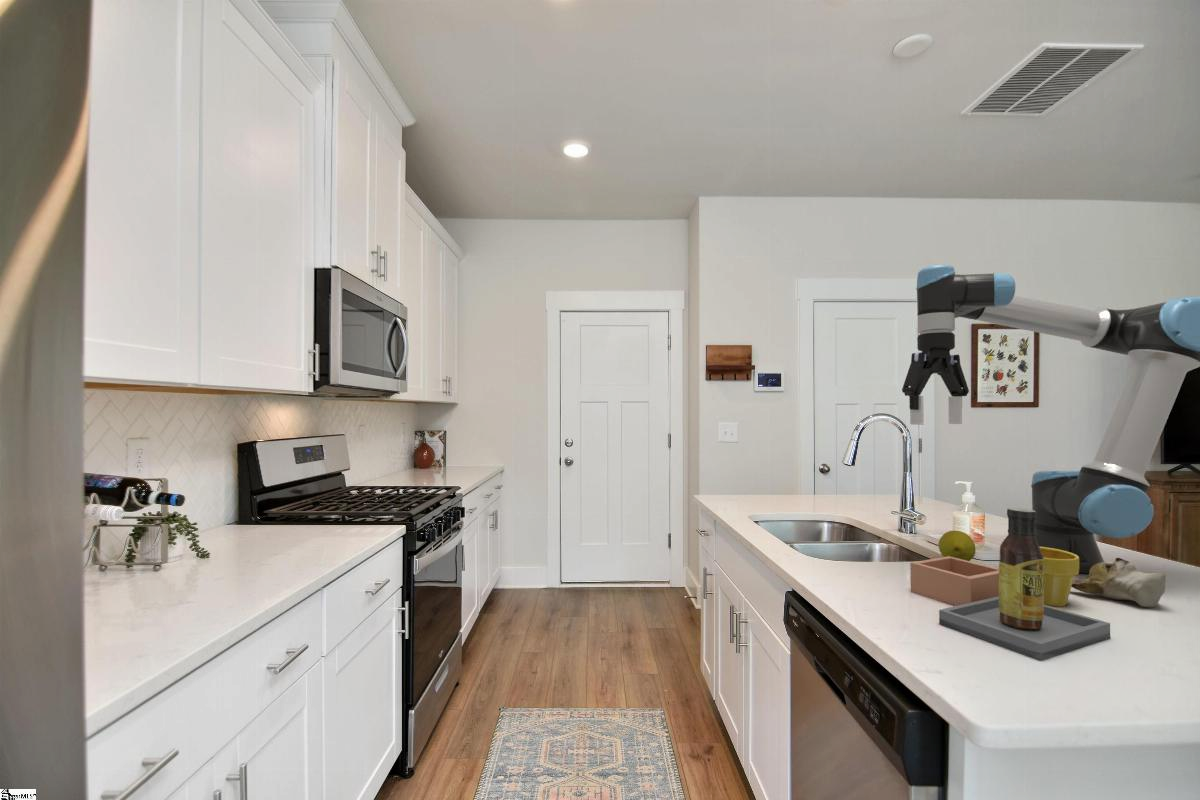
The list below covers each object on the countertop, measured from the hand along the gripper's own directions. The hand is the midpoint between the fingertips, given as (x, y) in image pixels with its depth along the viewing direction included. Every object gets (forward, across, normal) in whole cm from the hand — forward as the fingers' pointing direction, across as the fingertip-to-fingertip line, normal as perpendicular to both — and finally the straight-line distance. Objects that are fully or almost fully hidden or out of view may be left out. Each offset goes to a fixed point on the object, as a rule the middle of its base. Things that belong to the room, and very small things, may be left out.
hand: (936, 424), depth 131 cm
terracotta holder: (+35, +11, +12) cm, 38 cm away
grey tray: (+35, +19, +28) cm, 48 cm away
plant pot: (+35, -2, +21) cm, 41 cm away
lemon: (+35, -13, -4) cm, 37 cm away
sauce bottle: (+34, +19, +28) cm, 48 cm away
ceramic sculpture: (+35, -17, +26) cm, 47 cm away
